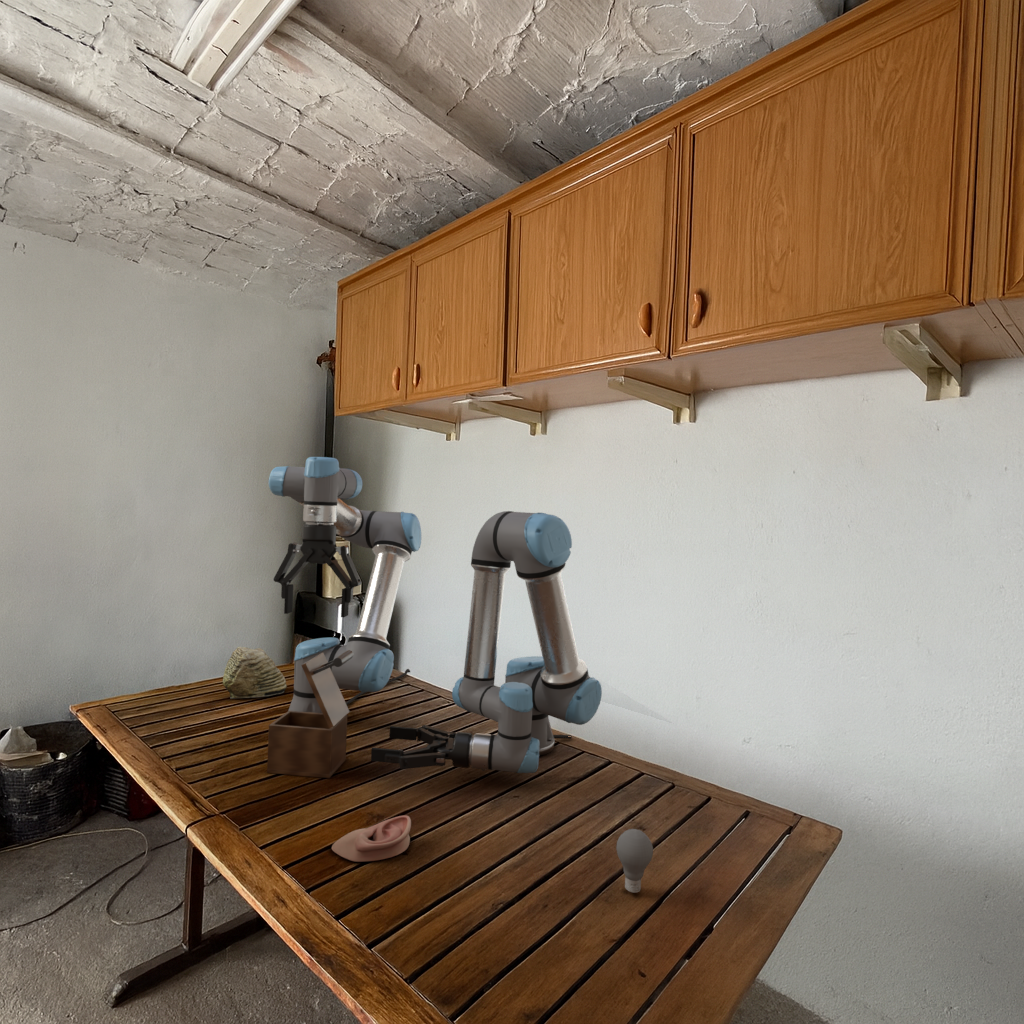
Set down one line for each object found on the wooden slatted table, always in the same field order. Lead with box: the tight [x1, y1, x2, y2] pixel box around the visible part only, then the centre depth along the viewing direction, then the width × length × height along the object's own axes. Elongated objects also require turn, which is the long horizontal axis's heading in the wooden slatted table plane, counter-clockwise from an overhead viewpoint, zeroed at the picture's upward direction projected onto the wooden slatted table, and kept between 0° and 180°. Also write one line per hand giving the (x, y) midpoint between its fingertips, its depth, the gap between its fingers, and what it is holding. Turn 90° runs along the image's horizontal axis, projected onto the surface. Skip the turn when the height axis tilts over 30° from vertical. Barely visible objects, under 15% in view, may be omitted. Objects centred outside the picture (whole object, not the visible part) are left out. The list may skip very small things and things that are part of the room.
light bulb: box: [615, 828, 654, 894], centre depth 106 cm, size 6×6×10 cm
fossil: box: [222, 646, 288, 699], centre depth 198 cm, size 9×18×15 cm, turn 132°
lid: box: [301, 650, 353, 728], centre depth 147 cm, size 16×10×8 cm
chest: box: [266, 711, 348, 779], centre depth 148 cm, size 15×10×11 cm
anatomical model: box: [331, 814, 412, 863], centre depth 116 cm, size 13×4×12 cm
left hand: (316, 614), depth 148 cm, fingers open, 13 cm apart
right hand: (381, 742), depth 147 cm, fingers open, 13 cm apart
